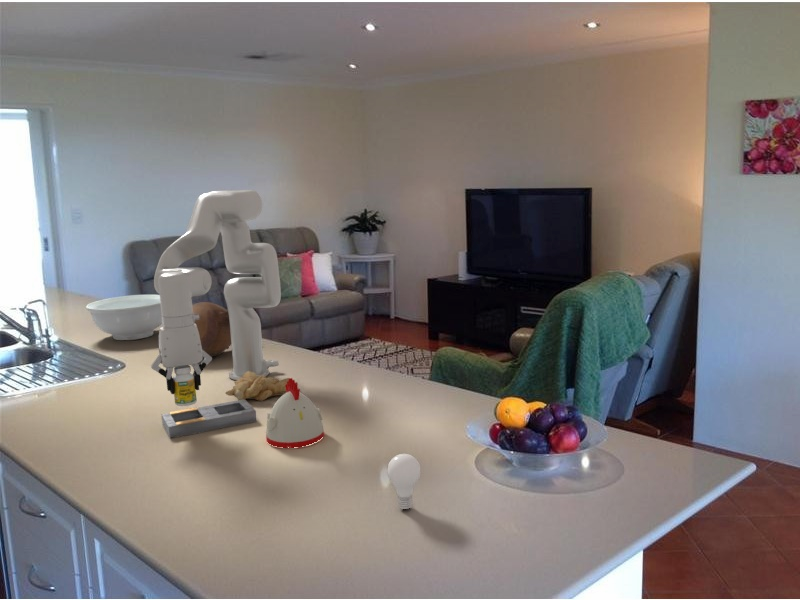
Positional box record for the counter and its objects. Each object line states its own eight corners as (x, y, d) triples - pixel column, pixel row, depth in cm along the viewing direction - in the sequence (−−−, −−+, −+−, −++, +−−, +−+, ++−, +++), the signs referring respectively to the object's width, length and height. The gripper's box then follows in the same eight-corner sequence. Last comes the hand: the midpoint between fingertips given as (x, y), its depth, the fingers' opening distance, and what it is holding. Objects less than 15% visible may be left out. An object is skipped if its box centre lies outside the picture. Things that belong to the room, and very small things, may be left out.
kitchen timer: (276, 453, 169) (272, 391, 166) (259, 435, 181) (255, 377, 178) (332, 441, 175) (329, 381, 172) (312, 424, 187) (308, 367, 184)
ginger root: (215, 394, 210) (219, 366, 210) (260, 393, 222) (264, 367, 222) (247, 408, 199) (252, 378, 199) (294, 406, 211) (298, 378, 211)
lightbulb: (387, 502, 142) (385, 449, 140) (420, 500, 143) (418, 447, 140) (390, 518, 136) (387, 462, 134) (423, 515, 136) (422, 460, 134)
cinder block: (245, 409, 200) (244, 398, 199) (256, 421, 190) (255, 409, 190) (162, 425, 190) (161, 413, 190) (169, 438, 181) (168, 426, 180)
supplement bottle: (192, 398, 190) (189, 363, 188) (199, 403, 186) (196, 367, 184) (172, 403, 187) (168, 366, 186) (178, 408, 183) (175, 371, 181)
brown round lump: (197, 367, 245) (261, 360, 270) (208, 311, 242) (271, 310, 267) (159, 348, 256) (224, 343, 281) (169, 294, 253) (233, 294, 278)
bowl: (103, 329, 309) (99, 295, 306) (181, 325, 312) (178, 291, 310) (79, 348, 277) (74, 310, 275) (166, 343, 281) (162, 305, 278)
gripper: (209, 314, 190) (214, 381, 193) (140, 323, 182) (147, 392, 185) (215, 319, 183) (221, 388, 186) (144, 328, 176) (151, 400, 179)
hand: (184, 390), depth 186 cm, fingers closed on supplement bottle, 5 cm apart
